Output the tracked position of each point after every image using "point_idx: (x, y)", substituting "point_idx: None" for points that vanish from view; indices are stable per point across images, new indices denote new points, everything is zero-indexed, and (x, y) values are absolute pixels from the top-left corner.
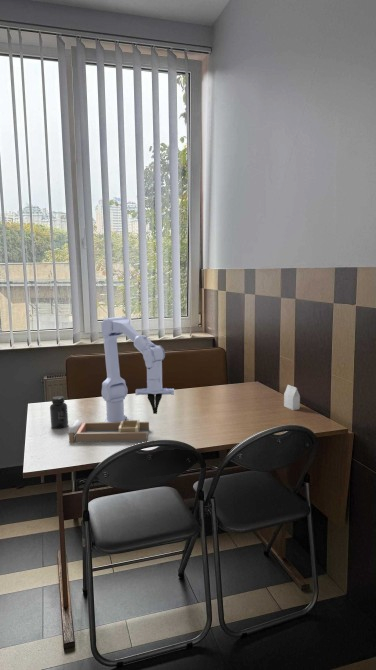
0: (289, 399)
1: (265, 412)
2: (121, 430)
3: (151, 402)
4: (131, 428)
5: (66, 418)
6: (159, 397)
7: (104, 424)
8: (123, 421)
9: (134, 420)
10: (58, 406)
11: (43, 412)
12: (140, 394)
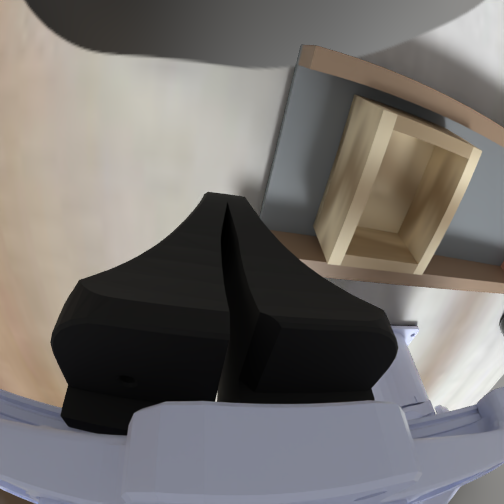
0: None
1: None
2: (461, 140)
3: (294, 271)
4: (419, 122)
5: None
6: (93, 305)
7: (467, 275)
8: (417, 263)
9: (358, 265)
10: None
11: (487, 381)
12: (459, 412)
